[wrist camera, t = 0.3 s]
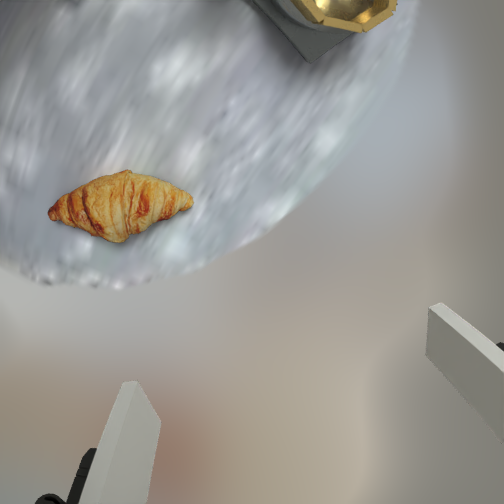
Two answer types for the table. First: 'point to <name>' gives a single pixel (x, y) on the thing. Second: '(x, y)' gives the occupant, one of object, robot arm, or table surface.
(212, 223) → the table surface
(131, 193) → the croissant
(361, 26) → the silver and gold bowl
